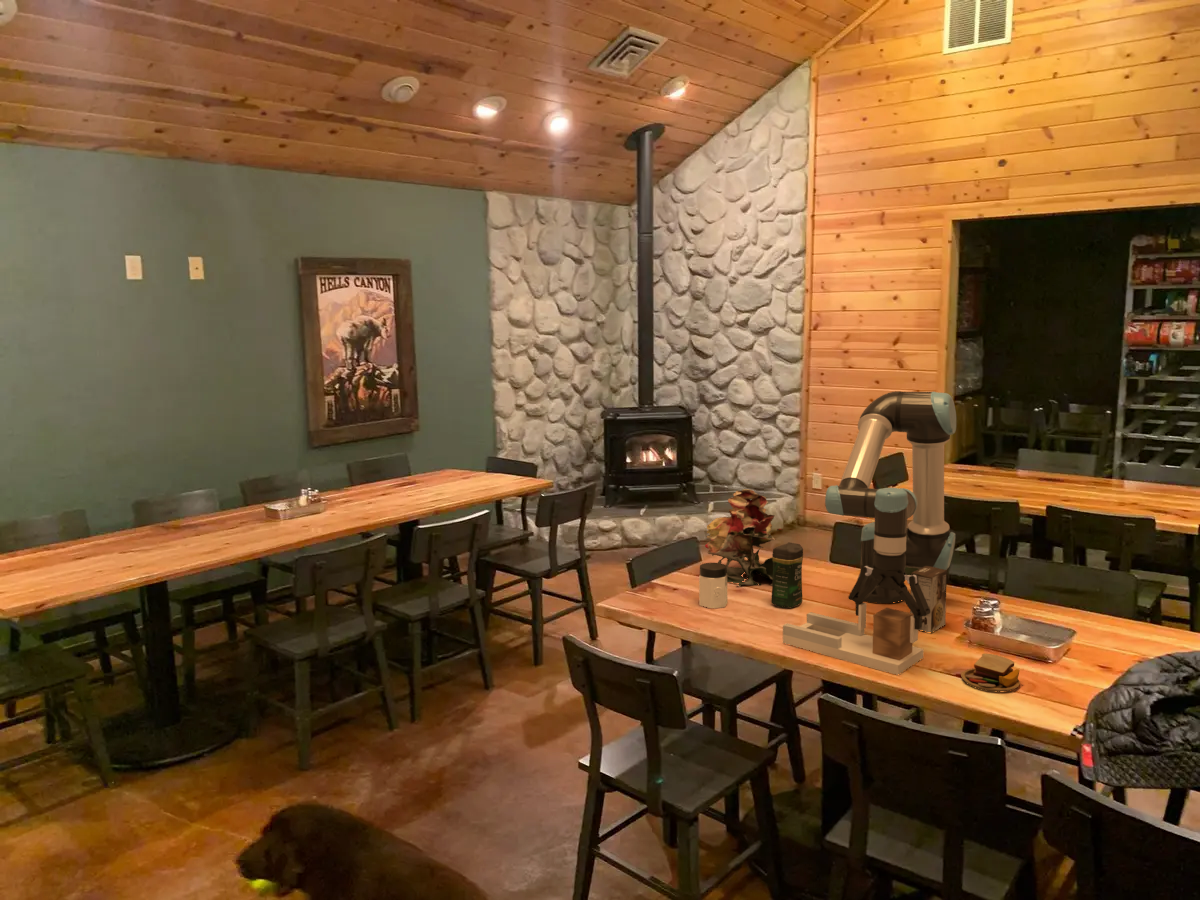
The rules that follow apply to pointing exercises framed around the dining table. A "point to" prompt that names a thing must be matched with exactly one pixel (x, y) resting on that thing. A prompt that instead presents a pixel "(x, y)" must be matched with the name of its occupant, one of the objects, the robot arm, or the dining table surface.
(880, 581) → the robot arm
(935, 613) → the coffee box
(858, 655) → the slotted wooden base
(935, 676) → the dining table surface
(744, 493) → the rose bouquet
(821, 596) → the dining table surface
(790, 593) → the coffee jar
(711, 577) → the jar
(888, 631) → the walnut block
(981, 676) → the toy sandwich meal
